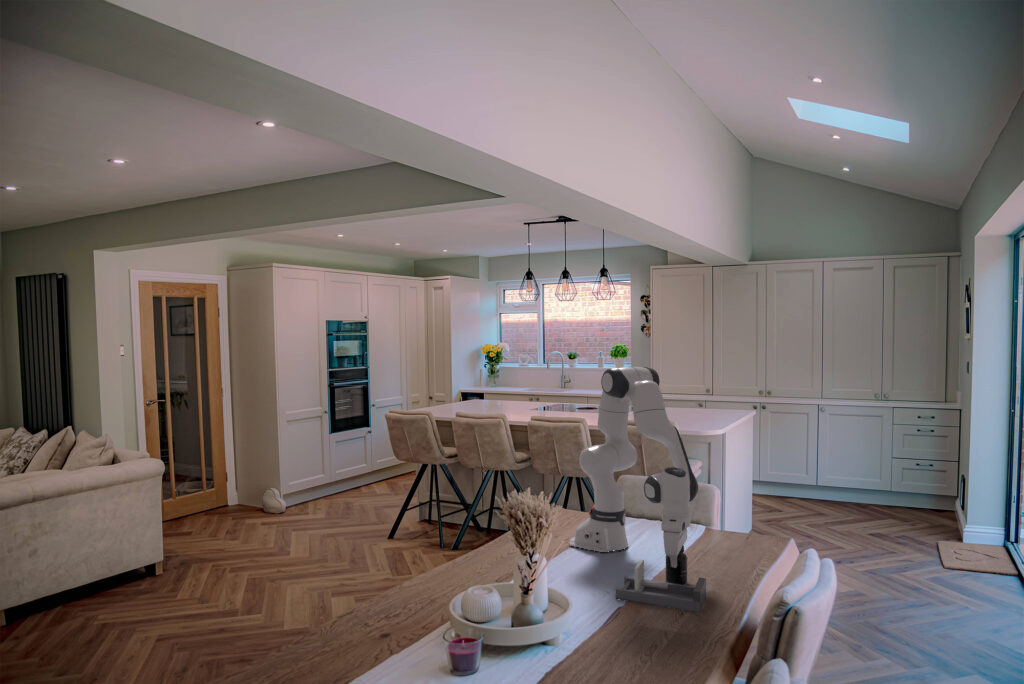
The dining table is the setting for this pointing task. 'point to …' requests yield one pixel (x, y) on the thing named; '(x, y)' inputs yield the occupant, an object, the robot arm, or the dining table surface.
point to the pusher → (641, 582)
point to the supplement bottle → (677, 569)
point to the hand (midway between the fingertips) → (677, 562)
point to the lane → (666, 595)
